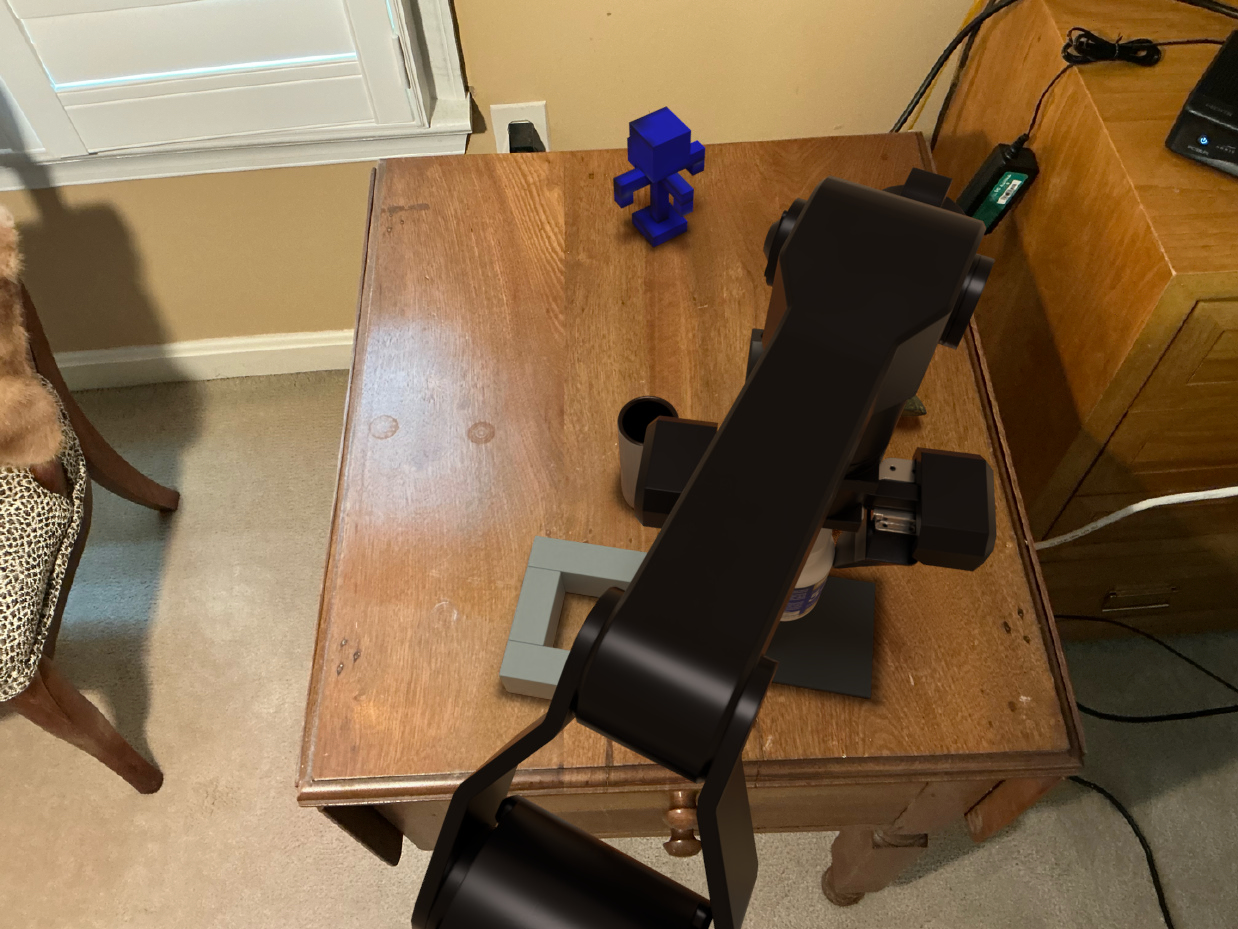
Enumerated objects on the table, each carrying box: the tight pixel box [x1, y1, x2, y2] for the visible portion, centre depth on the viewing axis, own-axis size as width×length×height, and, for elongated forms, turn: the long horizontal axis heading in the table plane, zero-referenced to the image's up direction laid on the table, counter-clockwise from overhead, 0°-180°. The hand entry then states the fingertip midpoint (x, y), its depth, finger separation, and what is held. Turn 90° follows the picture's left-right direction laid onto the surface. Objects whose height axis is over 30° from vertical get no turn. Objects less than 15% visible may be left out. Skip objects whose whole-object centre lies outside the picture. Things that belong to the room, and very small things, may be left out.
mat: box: [765, 575, 876, 700], centre depth 66 cm, size 9×9×1 cm
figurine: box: [612, 106, 706, 248], centre depth 83 cm, size 8×8×12 cm
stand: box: [498, 535, 648, 700], centre depth 65 cm, size 11×11×4 cm
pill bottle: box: [780, 528, 836, 621], centre depth 56 cm, size 5×5×9 cm
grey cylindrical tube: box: [616, 395, 680, 509], centre depth 69 cm, size 4×4×10 cm
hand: (790, 554), depth 55 cm, fingers closed on pill bottle, 5 cm apart
